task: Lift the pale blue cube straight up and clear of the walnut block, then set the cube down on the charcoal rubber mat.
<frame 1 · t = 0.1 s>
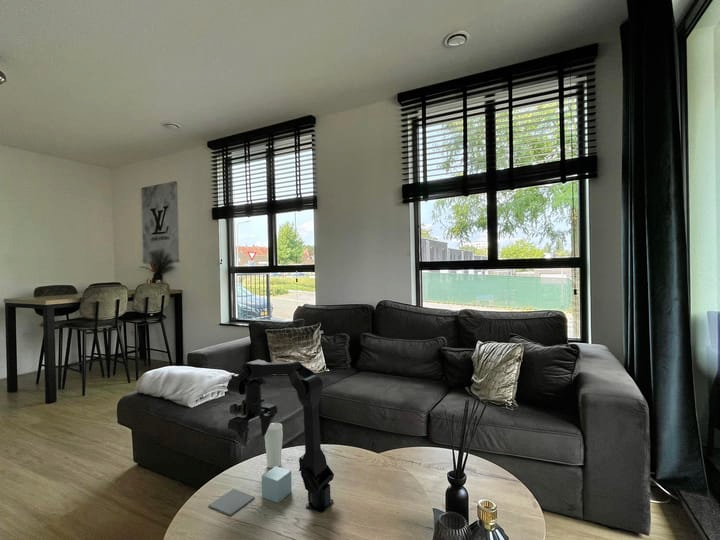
hand: (254, 440, 129), 15 cm above the table, tool pointing down, fingers open, 9 cm apart
charcoal mat: (232, 502, 118), on the table
pale blue cube: (276, 494, 121), on the table
walnut block: (276, 489, 121), in the pale blue cube
white tall cylinder: (274, 465, 140), on the table
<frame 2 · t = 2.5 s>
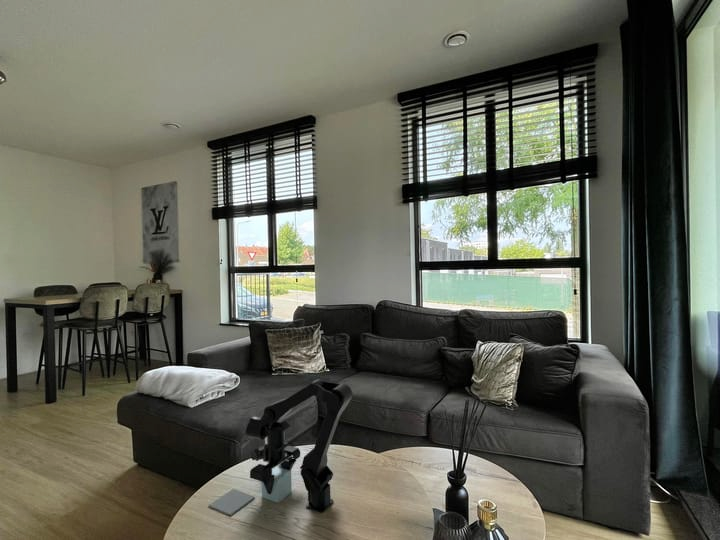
hand: (276, 488, 121), 2 cm above the table, tool pointing down, fingers closed on pale blue cube, 7 cm apart
pale blue cube: (276, 494, 121), on the table, touching gripper
everything else where it was.
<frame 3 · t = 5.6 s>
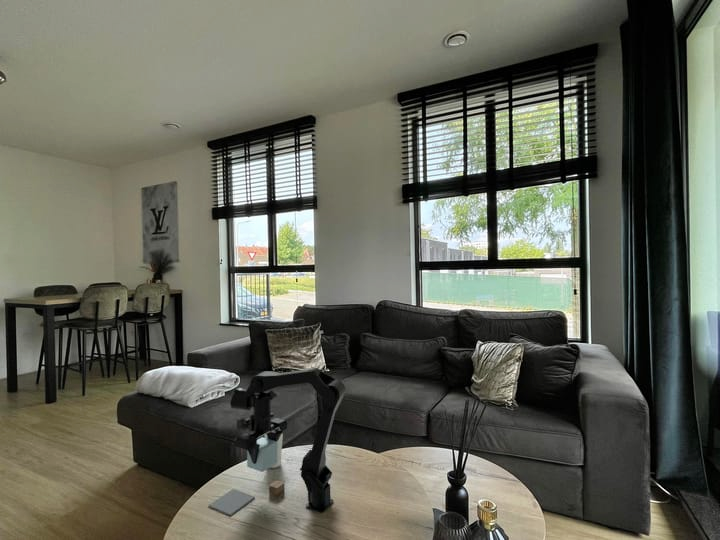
hand: (262, 458, 121), 12 cm above the table, tool pointing down, fingers closed on pale blue cube, 7 cm apart
pale blue cube: (262, 464, 121), point 10 cm above the table, touching gripper
everything else where it was.
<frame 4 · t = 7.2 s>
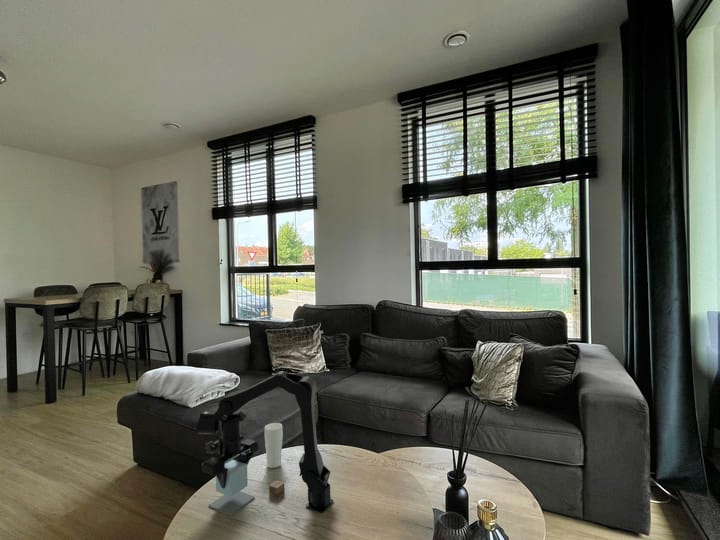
hand: (232, 482, 118), 6 cm above the table, tool pointing down, fingers closed on pale blue cube, 7 cm apart
pale blue cube: (232, 488, 118), point 4 cm above the table, touching gripper
everything else where it was.
when the fingers open (4 cm above the table, at t = 8.6 s): pale blue cube drops 2 cm, resting on charcoal mat.
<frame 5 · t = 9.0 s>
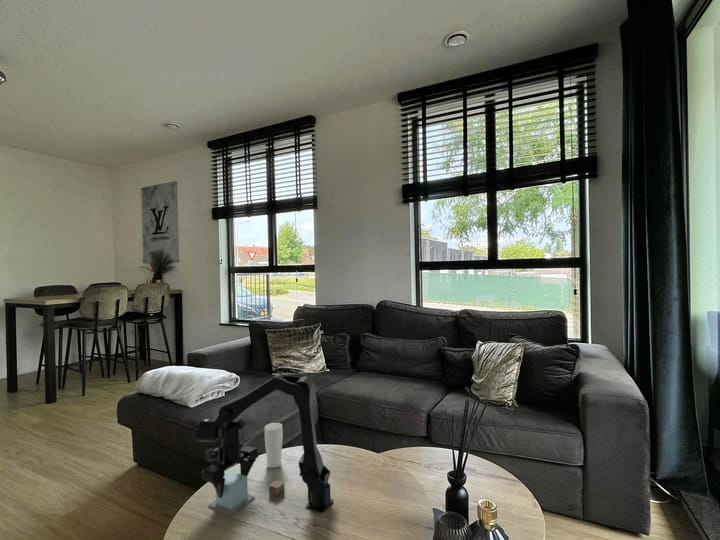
hand: (232, 489, 118), 4 cm above the table, tool pointing down, fingers open, 9 cm apart
pale blue cube: (232, 500, 118), resting on charcoal mat
everything else where it was.
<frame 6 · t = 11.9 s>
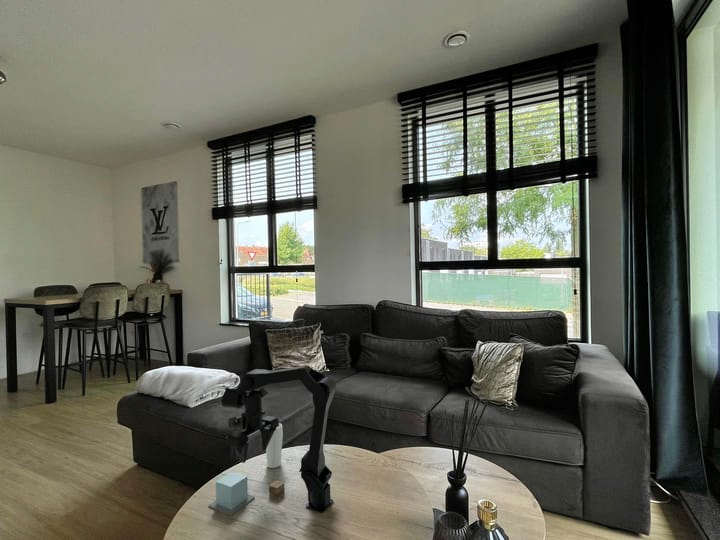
hand: (254, 456, 121), 13 cm above the table, tool pointing down, fingers open, 9 cm apart
nothing on the table moved.
at the end: pale blue cube 0.0 cm off-centre on the charcoal mat, point 0.5 cm above the charcoal mat's base; pale blue cube tilted 0°; the gripper is holding nothing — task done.
